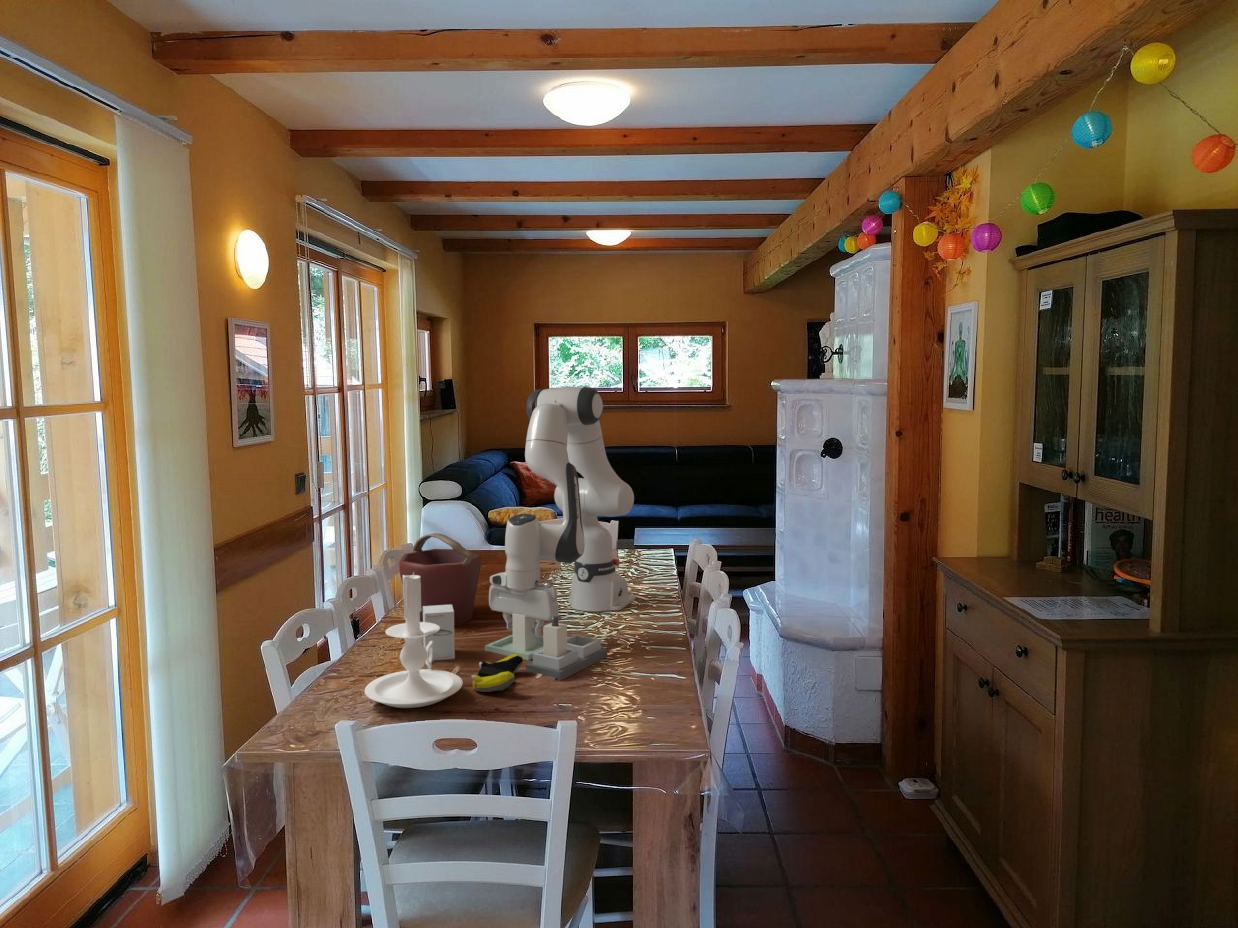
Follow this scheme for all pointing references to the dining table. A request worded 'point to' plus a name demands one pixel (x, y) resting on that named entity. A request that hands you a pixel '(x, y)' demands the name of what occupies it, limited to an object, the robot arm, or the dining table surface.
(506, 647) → the tray
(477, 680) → the yellow black curved piece
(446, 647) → the supplement box
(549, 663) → the grey socket base
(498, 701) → the dining table surface
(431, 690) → the candlestick
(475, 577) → the bucket
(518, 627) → the plug
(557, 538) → the robot arm
